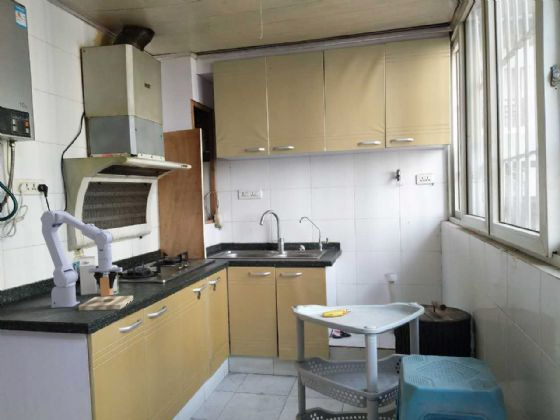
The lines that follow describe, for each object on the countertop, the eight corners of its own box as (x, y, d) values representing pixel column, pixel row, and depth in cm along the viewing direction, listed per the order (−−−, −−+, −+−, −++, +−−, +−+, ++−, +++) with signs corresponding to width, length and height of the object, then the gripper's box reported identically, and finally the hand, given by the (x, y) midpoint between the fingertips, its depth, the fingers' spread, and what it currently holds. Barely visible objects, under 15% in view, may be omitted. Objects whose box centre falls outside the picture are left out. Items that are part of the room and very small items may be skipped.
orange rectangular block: (100, 296, 185) (99, 278, 185) (104, 293, 189) (103, 276, 189) (109, 295, 185) (108, 278, 185) (113, 293, 189) (112, 276, 189)
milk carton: (81, 292, 215) (79, 256, 214) (96, 290, 217) (94, 255, 217) (81, 295, 208) (79, 258, 207) (96, 293, 211) (94, 256, 210)
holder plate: (78, 310, 179) (78, 306, 179) (95, 301, 195) (94, 297, 195) (120, 309, 179) (120, 304, 179) (133, 299, 195) (132, 295, 195)
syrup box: (108, 296, 205) (107, 267, 204) (102, 294, 209) (101, 266, 208) (119, 293, 209) (117, 265, 209) (113, 292, 213) (112, 264, 212)
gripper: (124, 256, 190) (125, 285, 191) (92, 257, 190) (94, 287, 191) (118, 259, 183) (119, 289, 184) (85, 260, 183) (87, 290, 184)
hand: (106, 288), depth 187 cm, fingers closed on orange rectangular block, 4 cm apart
